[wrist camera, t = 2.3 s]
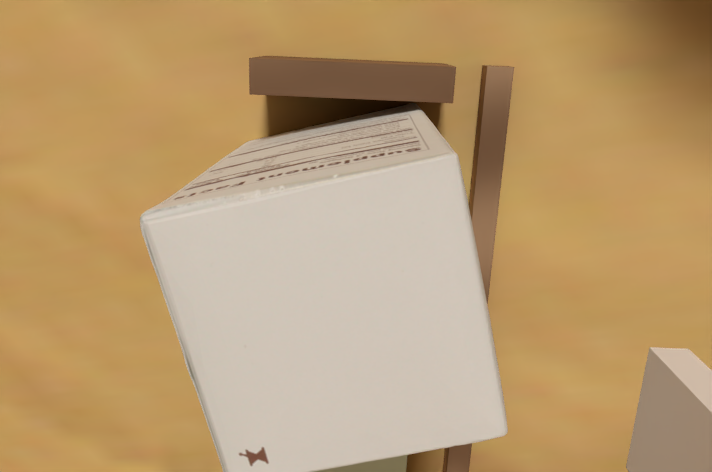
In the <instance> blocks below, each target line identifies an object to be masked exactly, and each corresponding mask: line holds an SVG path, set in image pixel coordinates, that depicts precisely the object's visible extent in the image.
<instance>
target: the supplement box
mask: <svg viewBox="0 0 712 472" xmlns="http://www.w3.org/2000/svg"><path fill="white" fill-rule="evenodd" d="M140 227H141V231H142V235H143V237H144V240H145V242H146V246H147V249H148V252H149V255H150V258H151V261H152V264H153V266H154V269H155V272H156V274H157V277H158V280H159V283H160V286H161V289H162V292H163V295H164V298H165V301H166V304H167V307H168V310H169V313H170V316H171V319H172V321H173V324H174V327H175V330H176V333H177V336H178V339H179V342H180V345H181V348H182V352H183V355H184V358H185V363H186V365H187V368H188V372H189V375H190V377H191V379H192V381H193V383H194V386H195V389H196V392H197V395H198V398H199V401H200V404H201V407H202V409H203V412H204V415H205V418H206V421H207V424H208V427H209V430H210V433H211V436H212V439H213V442H214V445H215V448H216V451H217V454H218V457H219V459H220V463H221V466H222V469H223V472H314V471H319V470H325V469H330V468H336V467H342V466H348V465H353V464H359V463H364V462H369V461H375V460H381V459H386V458H392V457H398V456H403V455H409V454H414V453H420V452H425V451H430V450H436V449H441V448H448V447H453V446H459V445H465V444H470V443H475V442H481V441H485V440H489V439H494V438H498V437H502V436H504V435H506V433H507V432H508V429H507V419H506V412H505V405H504V398H503V392H502V387H501V380H500V374H499V369H498V363H497V357H496V351H495V345H494V339H493V334H492V328H491V322H490V316H489V311H488V306H487V300H486V295H485V289H484V284H483V279H482V273H481V268H480V262H479V257H478V252H477V247H476V241H475V236H474V231H473V226H472V220H471V215H470V210H469V205H468V200H467V195H466V190H465V186H464V181H463V176H462V172H461V167H460V162H459V158H458V155H457V153H455V152H454V150H453V149H452V148H451V147H450V145H449V143H448V142H446V140H445V139H444V138H443V137H442V135H441V134H440V132H439V131H438V130H437V128H436V127H435V126H434V124H433V123H432V122H431V121H430V119H429V118H428V117H427V116H426V115H425V113H424V112H423V111H422V110H421V108H420V107H419V106H418V105H417V104H416V103H410V104H406V105H403V106H398V107H394V108H390V109H386V110H382V111H377V112H373V113H368V114H364V115H359V116H355V117H350V118H346V119H342V120H337V121H333V122H329V123H324V124H320V125H316V126H311V127H307V128H303V129H298V130H294V131H290V132H285V133H281V134H277V135H272V136H268V137H264V138H260V139H256V140H252V141H249V142H246V143H245V144H243V145H242V146H240V147H239V148H238V149H236V150H234V151H233V152H231V153H230V154H228V155H227V156H225V157H224V158H223V159H221V160H220V161H219V162H217V163H216V164H215V165H213V166H212V167H210V168H209V169H208V170H206V171H205V172H204V173H202V174H201V175H200V176H198V177H197V178H195V179H194V180H193V181H191V182H190V183H189V184H187V185H186V186H185V187H183V188H182V189H181V190H179V191H178V192H176V193H175V194H173V195H172V196H171V197H169V198H168V199H166V200H165V201H163V202H162V203H160V204H158V205H156V206H154V207H152V208H151V209H149V210H147V211H145V212H144V213H143V214H142V215H141V217H140Z"/></svg>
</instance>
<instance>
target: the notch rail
mask: <svg viewBox="0 0 712 472" xmlns="http://www.w3.org/2000/svg"><path fill="white" fill-rule="evenodd" d="M513 72H514V67H509V66H487V65H483V68H482V79H481V89H480V99H479V109H478V120H477V130H476V140H475V150H474V161H473V171H472V181H471V191H470V202H469V210H470V215H471V220H472V226H473V231H474V236H475V241H476V247H477V252H478V257H479V262H480V268H481V273H482V279H483V284H484V289H485V295H486V300H487V304H488V295H489V286H490V277H491V268H492V259H493V250H494V241H495V232H496V224H497V215H498V206H499V197H500V188H501V179H502V170H503V161H504V152H505V143H506V134H507V125H508V117H509V108H510V99H511V90H512V81H513ZM455 73H456V67H454V66H451V65H447V64H441V63H418V62H395V61H371V60H348V59H325V58H302V57H279V56H262V57H254V58H249V85H250V94H254V95H277V96H299V97H322V98H345V99H368V100H391V101H414V102H437V103H453V96H454V84H455ZM471 447H472V443H470V444H465V445H459V446H453V447H448V448H445V458H444V468H443V472H469V464H470V455H471Z"/></svg>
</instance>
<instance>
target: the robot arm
mask: <svg viewBox="0 0 712 472" xmlns="http://www.w3.org/2000/svg"><path fill="white" fill-rule="evenodd" d="M626 468H627V470H628V471H629V472H712V370H711V369H710V368H708V367H707V366H706V365H705V364H704V363H703V362H702V361H701V360H700V359H699V358H698V357H697V356H696V355H695V354H693V353H692V352H691V351H690V350H689V349H677V348H654V347H649V352H648V357H647V362H646V367H645V373H644V378H643V383H642V388H641V393H640V398H639V403H638V408H637V414H636V419H635V424H634V429H633V434H632V439H631V444H630V449H629V455H628V460H627V465H626Z"/></svg>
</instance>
